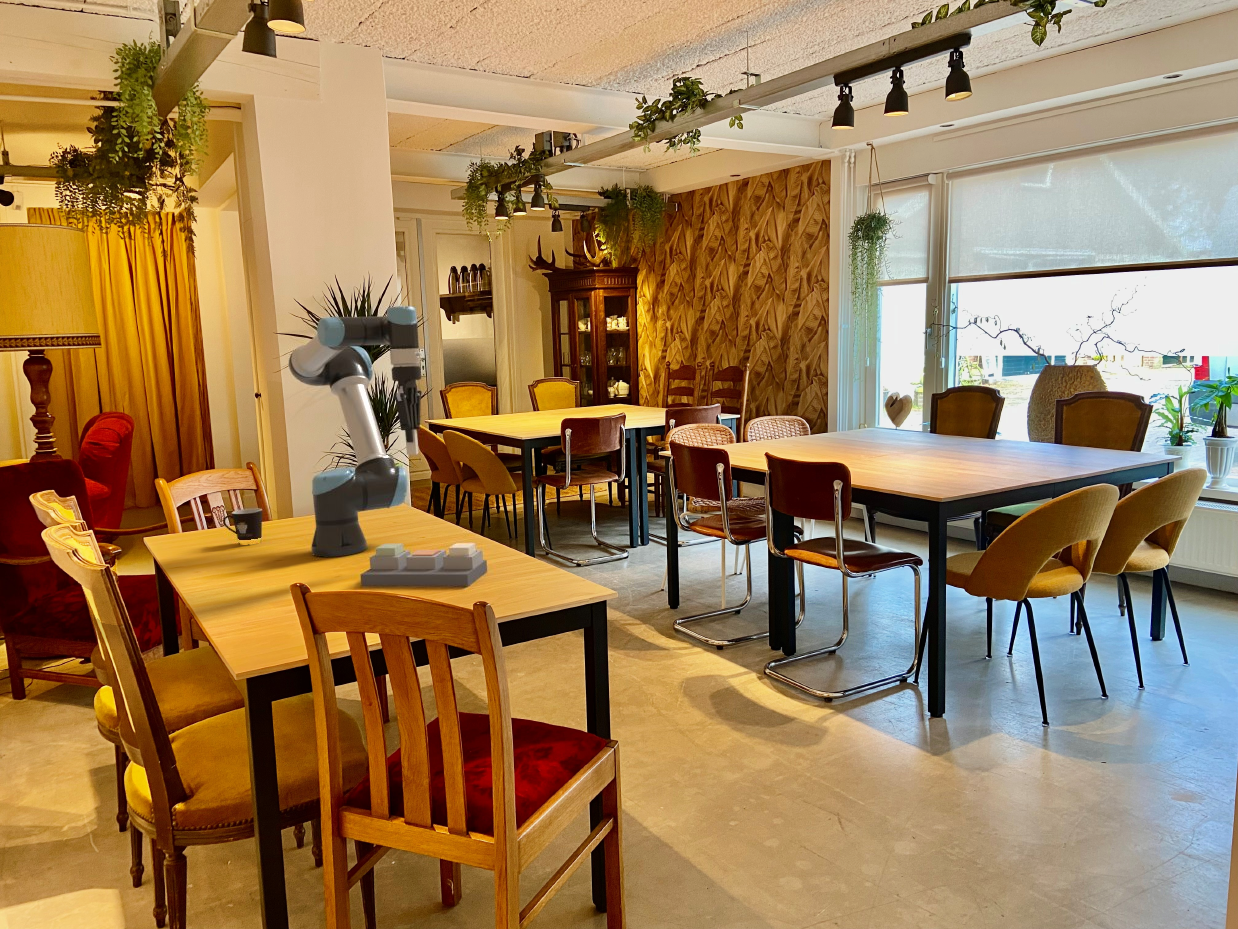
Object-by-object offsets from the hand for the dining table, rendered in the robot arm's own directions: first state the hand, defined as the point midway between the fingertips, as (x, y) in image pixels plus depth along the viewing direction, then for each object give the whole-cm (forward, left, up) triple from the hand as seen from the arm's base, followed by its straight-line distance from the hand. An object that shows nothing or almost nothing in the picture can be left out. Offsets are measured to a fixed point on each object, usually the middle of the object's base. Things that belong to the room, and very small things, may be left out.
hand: (412, 454), depth 237 cm
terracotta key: (+11, -21, -25) cm, 34 cm away
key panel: (+10, -22, -28) cm, 37 cm away
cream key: (+20, -20, -24) cm, 37 cm away
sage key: (+1, -20, -24) cm, 31 cm away
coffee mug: (-65, +20, -29) cm, 74 cm away
